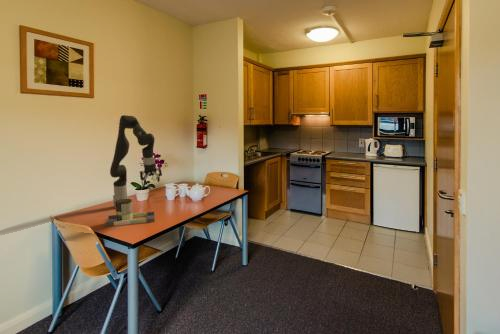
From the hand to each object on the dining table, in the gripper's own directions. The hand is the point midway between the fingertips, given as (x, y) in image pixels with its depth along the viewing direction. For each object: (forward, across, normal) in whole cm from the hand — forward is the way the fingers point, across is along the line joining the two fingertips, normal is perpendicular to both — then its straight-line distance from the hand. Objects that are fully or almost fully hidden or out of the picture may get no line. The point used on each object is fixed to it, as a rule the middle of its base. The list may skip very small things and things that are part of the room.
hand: (152, 182), depth 210 cm
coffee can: (+19, +23, +9) cm, 31 cm away
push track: (+20, +19, +10) cm, 29 cm away
